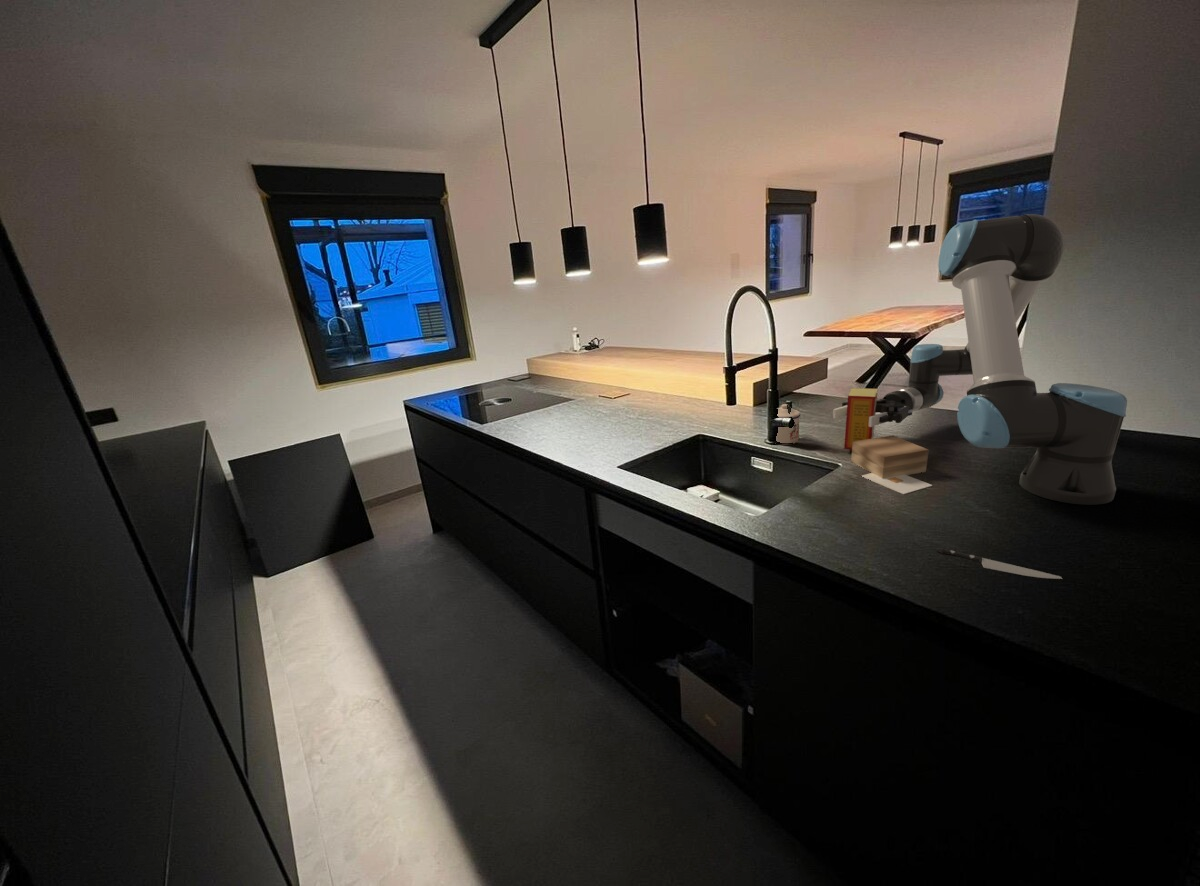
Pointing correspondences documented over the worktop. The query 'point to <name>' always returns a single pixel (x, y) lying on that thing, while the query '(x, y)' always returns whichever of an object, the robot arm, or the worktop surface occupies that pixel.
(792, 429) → the teacup with lid
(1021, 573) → the chef's knife
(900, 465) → the base brick
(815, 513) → the worktop surface
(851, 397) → the baking soda box
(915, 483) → the page
